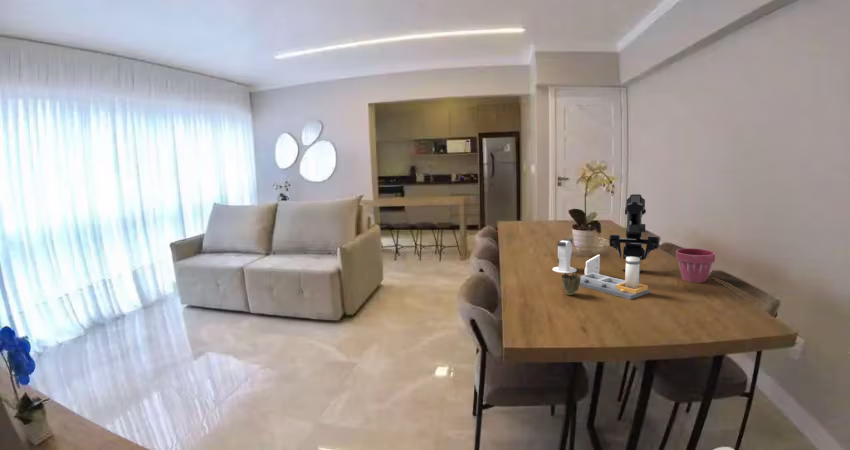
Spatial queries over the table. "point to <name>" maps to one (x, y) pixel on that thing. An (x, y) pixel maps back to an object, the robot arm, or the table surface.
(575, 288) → the cup
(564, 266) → the white charging stand
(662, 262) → the table surface
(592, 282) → the board
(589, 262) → the white wedge bracket
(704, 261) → the plant pot
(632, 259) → the white bottle
